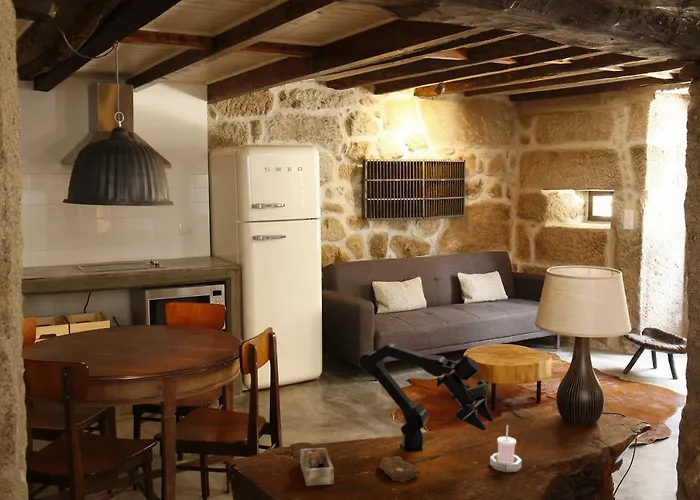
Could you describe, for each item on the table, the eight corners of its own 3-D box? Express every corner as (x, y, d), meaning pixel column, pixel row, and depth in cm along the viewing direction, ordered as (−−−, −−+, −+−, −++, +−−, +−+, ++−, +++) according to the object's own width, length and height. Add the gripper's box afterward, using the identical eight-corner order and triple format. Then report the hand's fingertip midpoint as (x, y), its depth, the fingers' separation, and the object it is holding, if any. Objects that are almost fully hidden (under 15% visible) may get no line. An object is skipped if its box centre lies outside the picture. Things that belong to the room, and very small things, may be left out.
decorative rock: (369, 469, 232) (395, 489, 219) (369, 457, 231) (395, 476, 219) (397, 460, 238) (425, 479, 225) (397, 449, 237) (425, 467, 225)
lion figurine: (314, 482, 219) (314, 455, 218) (298, 480, 221) (298, 452, 220) (331, 464, 233) (331, 438, 232) (316, 462, 235) (316, 436, 234)
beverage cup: (518, 467, 235) (520, 426, 233) (505, 471, 231) (507, 429, 230) (505, 460, 240) (507, 420, 238) (492, 464, 236) (494, 424, 235)
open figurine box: (306, 485, 218) (306, 470, 217) (300, 463, 234) (300, 449, 233) (333, 483, 219) (333, 468, 219) (325, 462, 235) (325, 447, 235)
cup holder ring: (497, 472, 230) (497, 465, 230) (486, 460, 239) (486, 453, 239) (525, 470, 232) (525, 463, 231) (513, 459, 241) (513, 452, 241)
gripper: (466, 381, 229) (499, 420, 225) (482, 367, 245) (512, 403, 242) (442, 401, 233) (474, 440, 229) (459, 386, 250) (489, 421, 246)
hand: (488, 425), depth 237 cm, fingers open, 9 cm apart
